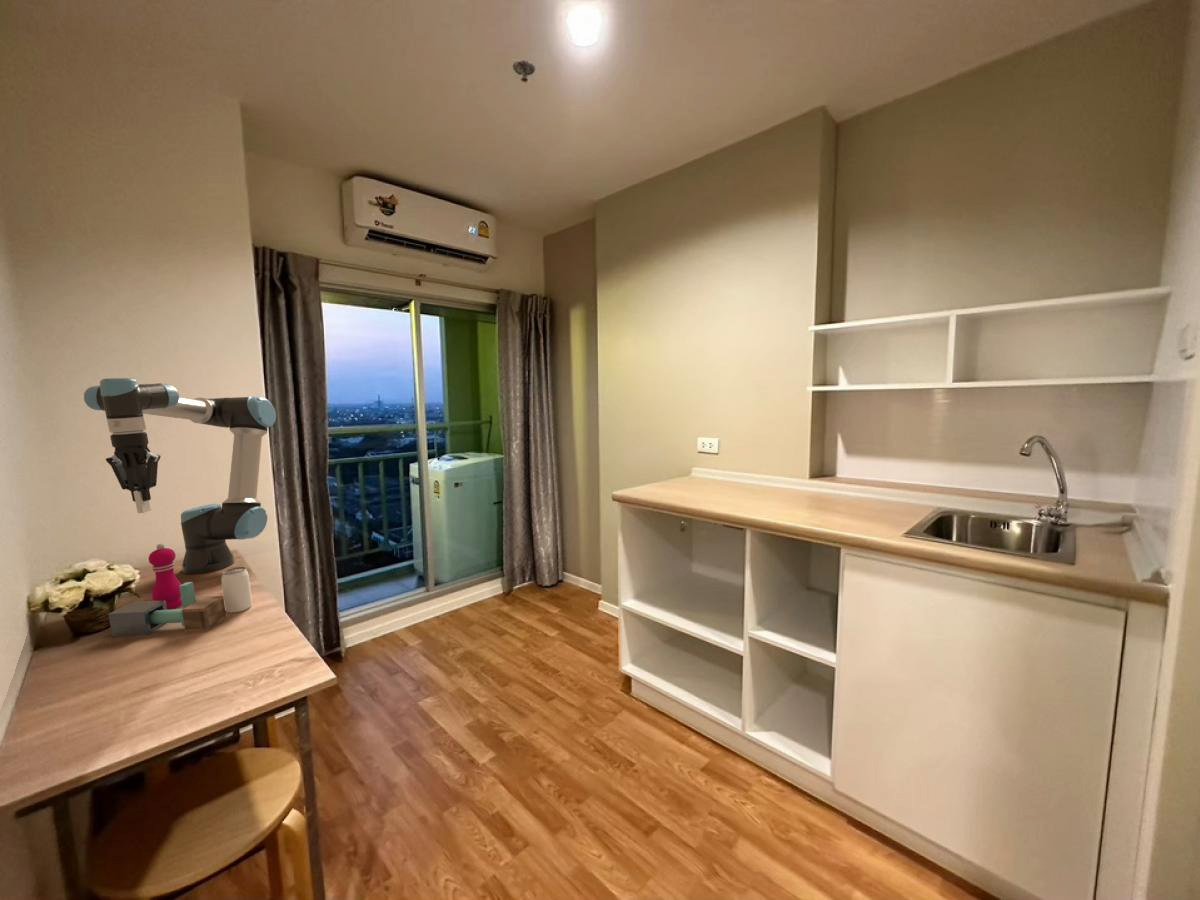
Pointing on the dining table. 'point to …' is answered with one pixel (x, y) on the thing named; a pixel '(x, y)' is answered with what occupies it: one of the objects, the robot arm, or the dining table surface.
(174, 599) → the pepper mill
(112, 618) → the gray block
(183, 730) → the dining table surface
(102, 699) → the dining table surface
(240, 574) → the can
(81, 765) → the dining table surface
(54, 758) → the dining table surface
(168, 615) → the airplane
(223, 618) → the socket
